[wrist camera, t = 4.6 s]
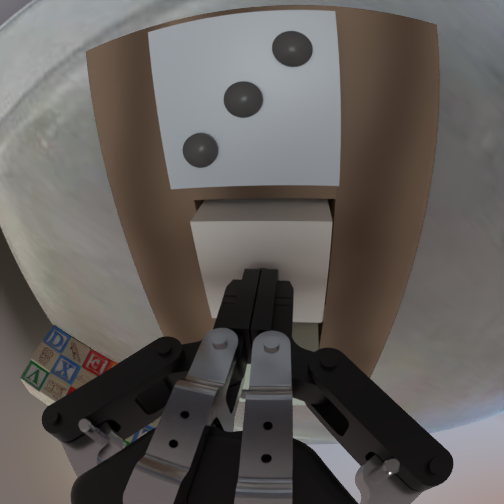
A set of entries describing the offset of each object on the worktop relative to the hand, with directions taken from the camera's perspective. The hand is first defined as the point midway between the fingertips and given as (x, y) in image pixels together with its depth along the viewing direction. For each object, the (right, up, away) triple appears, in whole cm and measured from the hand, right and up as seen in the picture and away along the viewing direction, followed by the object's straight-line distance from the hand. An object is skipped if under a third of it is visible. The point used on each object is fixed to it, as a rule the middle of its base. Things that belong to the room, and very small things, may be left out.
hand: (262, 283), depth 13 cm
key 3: (0, +8, -2) cm, 8 cm away
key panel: (+1, +3, +4) cm, 5 cm away
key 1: (0, +2, +3) cm, 4 cm away
